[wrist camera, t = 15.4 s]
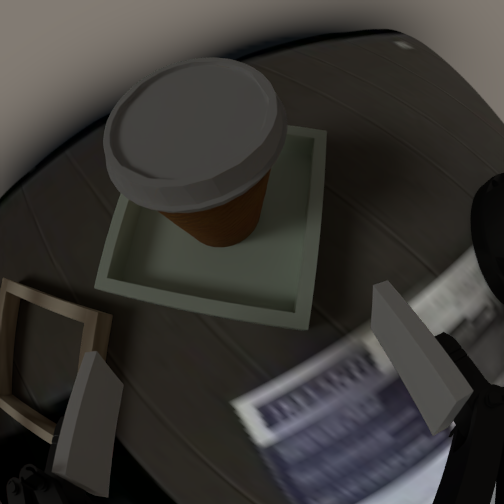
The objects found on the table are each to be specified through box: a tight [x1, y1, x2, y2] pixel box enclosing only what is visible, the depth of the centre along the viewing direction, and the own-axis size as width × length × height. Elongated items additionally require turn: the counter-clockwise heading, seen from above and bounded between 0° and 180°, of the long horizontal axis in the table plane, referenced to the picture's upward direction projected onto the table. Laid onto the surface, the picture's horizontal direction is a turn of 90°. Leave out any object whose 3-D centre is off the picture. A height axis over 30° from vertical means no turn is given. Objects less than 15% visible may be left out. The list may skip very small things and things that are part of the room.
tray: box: [94, 125, 327, 331], centre depth 23 cm, size 16×16×4 cm
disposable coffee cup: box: [103, 58, 288, 247], centre depth 18 cm, size 10×10×12 cm
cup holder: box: [0, 278, 113, 444], centre depth 20 cm, size 14×14×2 cm
